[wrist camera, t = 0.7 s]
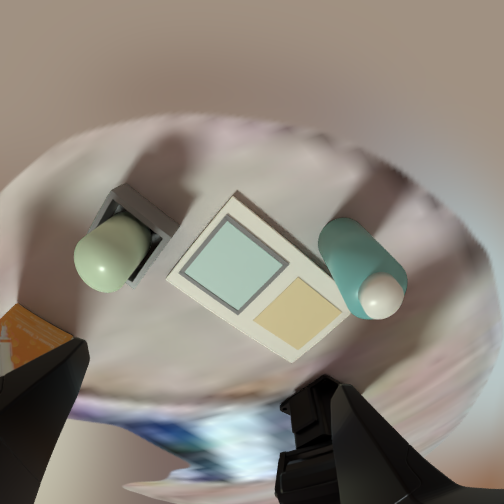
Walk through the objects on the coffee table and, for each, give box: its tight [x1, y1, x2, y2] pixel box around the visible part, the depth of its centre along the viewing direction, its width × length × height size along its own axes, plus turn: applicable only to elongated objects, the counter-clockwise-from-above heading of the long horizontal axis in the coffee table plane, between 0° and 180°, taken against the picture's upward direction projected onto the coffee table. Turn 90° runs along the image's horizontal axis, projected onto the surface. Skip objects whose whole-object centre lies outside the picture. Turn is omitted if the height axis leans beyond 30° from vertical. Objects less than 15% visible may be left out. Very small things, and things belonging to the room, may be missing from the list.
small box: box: [0, 303, 73, 377], centre depth 19 cm, size 8×6×13 cm
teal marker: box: [318, 218, 407, 319], centre depth 17 cm, size 4×4×8 cm
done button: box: [74, 212, 152, 293], centre depth 17 cm, size 4×4×4 cm
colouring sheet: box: [166, 196, 351, 363], centre depth 22 cm, size 13×8×1 cm, turn 50°
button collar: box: [87, 183, 180, 289], centre depth 19 cm, size 5×5×2 cm
